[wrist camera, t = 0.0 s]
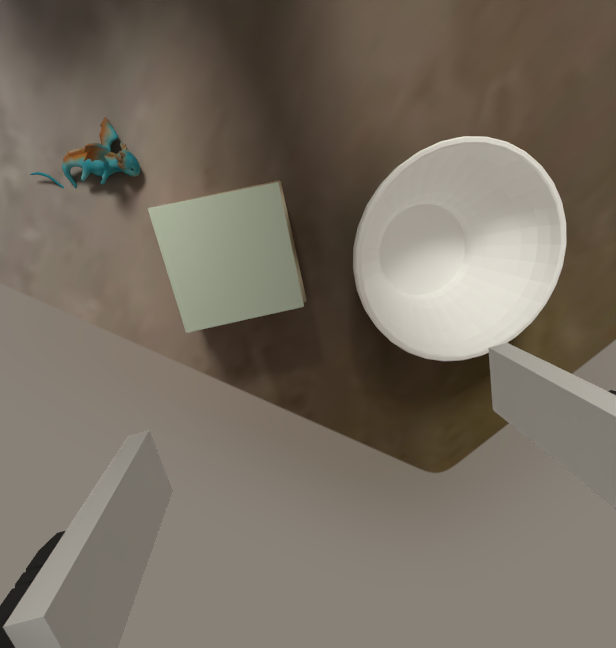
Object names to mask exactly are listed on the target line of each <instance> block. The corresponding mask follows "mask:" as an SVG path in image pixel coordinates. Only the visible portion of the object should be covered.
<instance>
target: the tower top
mask: <svg viewBox="0 0 616 648" xmlns="http://www.w3.org/2000/svg"><path fill="white" fill-rule="evenodd" d="M148 211H149V214H150V217H151V220H152V224H153V227H154V230H155V233H156V237H157V240H158V243H159V246H160V250H161V253H162V256H163V259H164V263H165V266H166V269H167V272H168V276H169V279H170V282H171V285H172V289H173V292H174V295H175V298H176V302H177V305H178V308H179V311H180V315H181V318H182V321H183V324H184V328H185V331H186V333H188V332H192V331H197V330H201V329H206V328H210V327H215V326H219V325H224V324H228V323H233V322H237V321H242V320H246V319H251V318H255V317H260V316H265V315H269V314H274V313H278V312H283V311H287V310H292V309H296V308H301V307H304V304H303V299H302V294H301V289H300V284H299V280H298V275H297V270H296V265H295V260H294V255H293V251H292V246H291V241H290V236H289V231H288V227H287V222H286V217H285V212H284V207H283V202H282V198H281V193H280V188H279V183H278V182H276V183H271V184H266V185H261V186H256V187H251V188H246V189H241V190H236V191H231V192H226V193H221V194H216V195H211V196H206V197H201V198H196V199H192V200H187V201H182V202H177V203H172V204H167V205H162V206H157V207H152V208H148Z"/></svg>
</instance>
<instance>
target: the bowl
mask: <svg viewBox="0 0 616 648" xmlns="http://www.w3.org/2000/svg"><path fill="white" fill-rule="evenodd" d="M565 249H566V220H565V215H564V210H563V205H562V201H561V199H560V196H559V194H558V192H557V189H556V187H555V185H554V182H553V181H552V180H551V178H550V177H549V175H548V174H547V173H546V171H545V170H544V168H543V167H542V166H541V165H540V164H539V163H538V162H537V161H536V160H535V159H533V158H532V157H531V156H530V155H529V154H528V153H527V152H525V151H523V150H521V149H520V148H518V147H516V146H514V145H512V144H510V143H508V142H505V141H501V140H497V139H493V138H489V137H468V136H464V137H459V138H454V139H450V140H445V141H441V142H439V143H436V144H434V145H432V146H430V147H427V148H425V149H423V150H421V151H419V152H418V153H416V154H415V155H413V156H412V157H410V158H409V159H408V160H406V161H405V162H404V163H402V164H401V165H399V166H398V167H397V168H395V169H394V170H393V171H392V173H391V174H390V175H389V176H388V177H387V178H386V179H385V180H384V181H383V182H382V183H381V184H380V185H379V187H378V188H377V190H376V191H375V193H374V195H373V196H372V198H371V199H370V201H369V202H368V204H367V206H366V208H365V211H364V213H363V215H362V218H361V220H360V223H359V225H358V228H357V233H356V238H355V242H354V247H353V272H354V277H355V283H356V289H357V292H358V295H359V297H360V300H361V302H362V305H363V307H364V309H365V311H366V312H367V314H368V315H369V317H370V318H371V320H372V322H373V323H374V325H375V326H376V327H377V328H378V330H380V331H381V332H382V333H383V334H384V335H385V336H386V337H387V338H388V339H389V340H390V341H391V342H392V343H394V344H395V345H397V346H398V347H400V348H402V349H403V350H405V351H406V352H408V353H411V354H414V355H416V356H419V357H422V358H425V359H431V360H438V361H458V360H466V359H470V358H474V357H478V356H482V355H484V354H486V353H489V349H488V347H492V346H497V345H501V344H505V343H507V342H509V341H510V340H512V339H513V338H515V337H516V336H518V335H519V334H520V333H521V332H522V331H523V330H524V329H525V328H526V327H527V326H528V325H529V324H531V323H532V322H533V320H534V319H535V318H536V316H537V315H538V314H539V313H540V311H541V310H542V309H543V307H544V306H545V305H546V303H547V301H548V299H549V297H550V295H551V294H552V292H553V290H554V288H555V286H556V284H557V281H558V278H559V275H560V272H561V269H562V266H563V261H564V255H565Z"/></svg>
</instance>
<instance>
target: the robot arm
mask: <svg viewBox="0 0 616 648" xmlns="http://www.w3.org/2000/svg"><path fill="white" fill-rule="evenodd" d="M488 349H489V362H490V376H491V389H492V403H493V410H494V411H495V412H496V413H497V414H499V415H500V416H501V417H502V418H504V419H505V420H506V421H507V422H508V423H510V424H511V425H512V426H513V427H515V428H516V429H518V431H520V432H521V433H522V434H523V435H525V436H526V437H527V438H528V439H530V440H531V441H532V442H533V443H535V444H536V445H537V446H538V447H539V448H541V449H542V450H543V451H544V452H546V453H547V454H548V455H549V456H551V457H552V458H553V459H554V460H556V461H557V462H558V463H559V464H561V465H562V466H563V467H564V468H565V469H567V470H568V471H569V472H571V473H572V474H573V475H574V476H575V477H577V478H578V479H579V480H580V481H582V482H583V483H584V484H585V485H587V486H588V487H589V488H591V490H593V491H594V492H595V493H597V494H598V495H599V496H600V497H601V498H603V499H604V500H605V501H606V502H608V503H609V504H610V505H611V506H613V507H614V508H615V509H616V391H612V390H611V391H606V390H604V389H602V388H600V387H597V386H595V385H593V384H591V383H589V382H587V381H585V380H583V379H581V378H579V377H577V376H575V375H573V374H571V373H568V372H566V371H564V370H562V369H560V368H558V367H556V366H554V365H552V364H550V363H548V362H546V361H544V360H542V359H539V358H537V357H535V356H533V355H531V354H529V353H527V352H525V351H523V350H521V349H519V348H517V347H515V346H513V345H510V344H508V343H505V344H501V345H497V346H492V347H488ZM171 494H172V489H171V486H170V483H169V481H168V478H167V475H166V473H165V470H164V467H163V465H162V462H161V459H160V457H159V454H158V452H157V449H156V446H155V443H154V441H153V438H152V436H151V433H150V430H148V431H144V432H140V433H136V434H132V435H128V437H127V438H126V440H125V441H124V443H123V444H122V446H121V447H120V449H119V451H118V452H117V454H116V455H115V457H114V458H113V460H112V461H111V463H110V464H109V466H108V467H107V469H106V470H105V472H104V474H103V475H102V477H101V478H100V480H99V481H98V483H97V484H96V486H95V487H94V489H93V491H92V492H91V493H90V495H89V496H88V498H87V500H86V501H85V503H84V504H83V506H82V507H81V509H80V510H79V512H78V513H77V515H76V516H75V518H74V519H73V521H72V522H71V524H70V526H69V527H68V529H67V530H66V531H63V532H59V533H57V534H56V535H55V536H54V537H53V538H51V539H50V540H49V541H48V542H47V543H46V544H45V545H44V546H43V547H42V548H41V549H40V550H39V551H38V553H37V554H36V555H35V557H34V558H33V560H32V561H31V563H30V564H29V565H28V567H27V568H26V572H25V573H23V574H22V575H21V577H20V578H19V580H18V581H17V583H16V584H15V588H14V589H12V590H11V591H10V593H9V594H8V595H7V597H6V598H5V600H4V601H3V603H2V604H1V606H0V648H118V646H119V643H120V640H121V637H122V634H123V631H124V628H125V626H126V623H127V620H128V617H129V614H130V611H131V608H132V606H133V603H134V600H135V597H136V594H137V591H138V588H139V585H140V582H141V580H142V577H143V574H144V571H145V568H146V566H147V563H148V560H149V557H150V554H151V551H152V548H153V546H154V543H155V540H156V537H157V534H158V531H159V528H160V526H161V523H162V519H163V517H164V514H165V511H166V508H167V506H168V503H169V500H170V497H171Z"/></svg>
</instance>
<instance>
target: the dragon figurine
mask: <svg viewBox="0 0 616 648" xmlns="http://www.w3.org/2000/svg"><path fill="white" fill-rule="evenodd" d="M101 127H102V129H101V132H100V139H101V144H97V143H94V144H87V145H85V147H84V148H81V149H75V150H73V151H69V152H68V153H67V155H66V156H65V158H64V159H63V165H62V168H63V171H64V174H65V176H66V177H67V178H68V179H69V180H70V182H71V183H72V184H73V185H74V187H75V188H77V184H76V182H75V181H74V179H73V177H72V176H71V173H70V169H71V168H72V167H75V166H77V167H82V176H81V180H83V182H84V181H85V179H86V178H87V177H88V175H89V174H90V173H91V172H92V173H93V174H95V175H97V176H102V180H101V183H102V185H103V184H105V183H106V180H107V178H108V177H109V175H112V174H113V173H115V172H124V173H126V174H127V175H129V176H133V177H135V176H138V175H139V174H140V166H139V163H138V161H137V159H136V158H135V157H134V155H133V154H131V153H130V152H129V151H128V150H127V147H126V144H125V145H124V144H123V145H122V143H120V147H121V149H122V151H119V153H118V154H115V153H112V152H111V144H112V142H113V141H114V140H117V139H118V135H117V133H116V132H115V130H114V129H113V127H112V126H111V124H110V123H109V121H108V120H107V118H106V117H105V118H104V120H103V121H102V123H101ZM35 174H38V175H43V176H46V177H48V178H50V179H51V180H52V181H54V182H55V183H56V184H58V185H59V186H60V187H62V188H64V187H63V186H62V185H61V184H60V183H58V182H57V181H56V180H55V179H53V178H52V177H51V176H49V175H47V174H44V173H40V172H36V173H32V174H30V175H35ZM101 183H100V184H101Z"/></svg>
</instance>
